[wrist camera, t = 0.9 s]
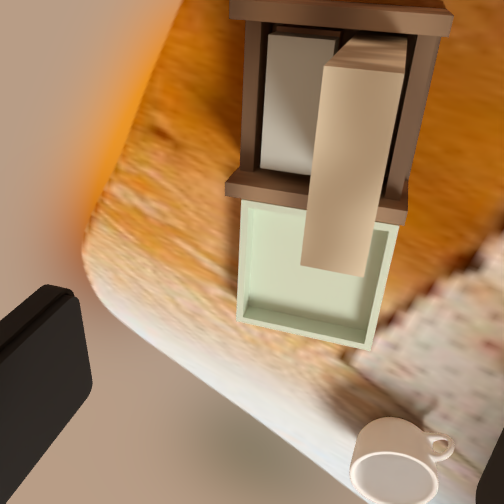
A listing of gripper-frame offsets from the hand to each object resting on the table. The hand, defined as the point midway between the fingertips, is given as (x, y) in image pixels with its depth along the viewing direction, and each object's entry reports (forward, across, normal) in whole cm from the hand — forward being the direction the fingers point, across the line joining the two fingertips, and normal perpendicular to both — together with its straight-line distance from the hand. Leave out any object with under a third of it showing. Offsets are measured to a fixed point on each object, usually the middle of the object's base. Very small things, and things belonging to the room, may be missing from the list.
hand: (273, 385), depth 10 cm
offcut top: (+25, +4, 0) cm, 25 cm away
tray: (+28, +2, +14) cm, 31 cm away
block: (+27, 0, 0) cm, 27 cm away
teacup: (+28, -9, +31) cm, 43 cm away
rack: (+28, +2, 0) cm, 28 cm away
